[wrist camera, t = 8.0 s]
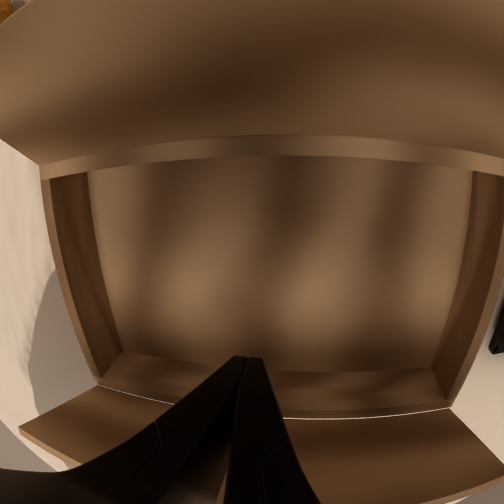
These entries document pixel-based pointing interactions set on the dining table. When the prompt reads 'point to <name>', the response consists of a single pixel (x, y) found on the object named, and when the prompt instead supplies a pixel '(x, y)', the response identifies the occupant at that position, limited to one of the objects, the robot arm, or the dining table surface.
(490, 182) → the carton
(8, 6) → the potato
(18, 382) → the dining table surface
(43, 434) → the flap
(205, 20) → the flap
